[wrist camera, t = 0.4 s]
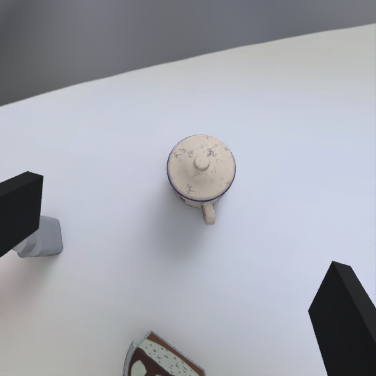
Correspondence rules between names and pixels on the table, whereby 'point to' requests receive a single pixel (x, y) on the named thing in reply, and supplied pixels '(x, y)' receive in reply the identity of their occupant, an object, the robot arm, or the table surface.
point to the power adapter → (42, 240)
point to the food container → (158, 359)
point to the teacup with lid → (201, 172)
